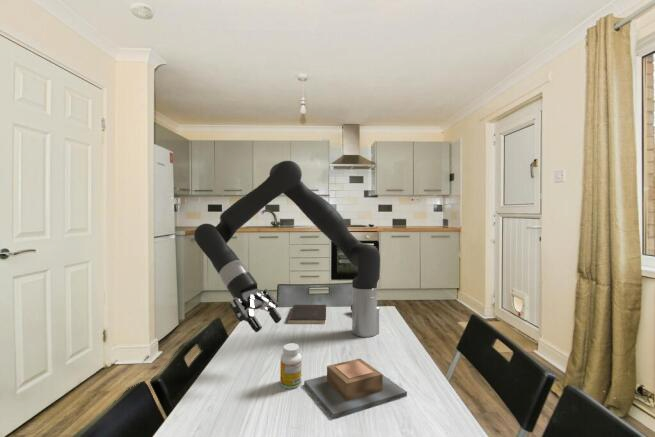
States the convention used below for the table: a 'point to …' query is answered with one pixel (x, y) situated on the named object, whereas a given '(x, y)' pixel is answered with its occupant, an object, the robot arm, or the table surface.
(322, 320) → the hardcover book
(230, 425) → the table surface
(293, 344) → the supplement bottle
